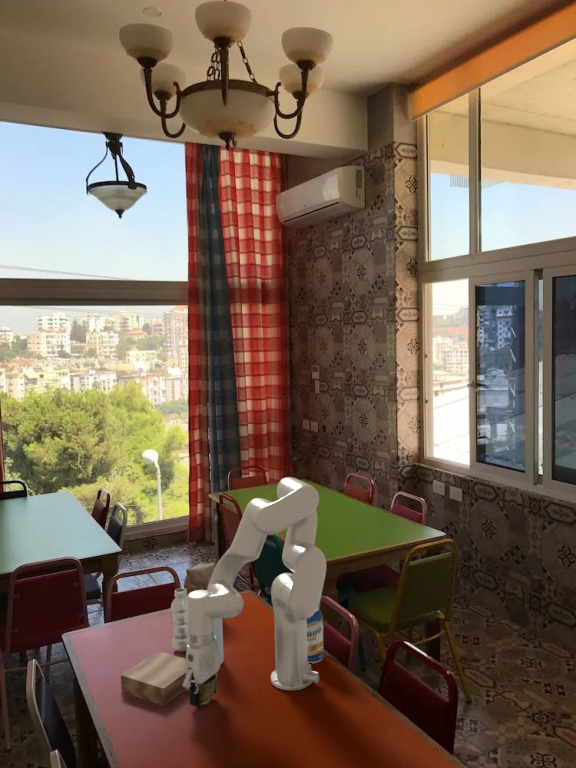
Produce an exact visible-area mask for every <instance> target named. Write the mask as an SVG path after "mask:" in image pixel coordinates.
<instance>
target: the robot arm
mask: <svg viewBox="0 0 576 768" xmlns="http://www.w3.org/2000/svg"><path fill="white" fill-rule="evenodd" d="M276 494H277V498H278V500H276V501H271V500H268V499H266V498H262V497H255V498H253V499H251V500H250V501H249V502H248V503H247V505H246V506H245V510H244V512H243V514H242V517H241V519H240V521H239V525H238V527H237V530H236V533H235V535H234V538H233V540H232V542H231V545H230V546H229V548H228V549H227V550H226V551H225V553H223V555H222V556H221V558H219V560H218V561H217V562H216V567H215V569H214V571H213V574H212V576H211V579H210V581H209V584H208V588H207V590H196V591H193V592H191V593H189V594H188V596H186V597H187V598H186V612H187V639H188V642H187V643H188V645H187V651H186V653H185V654H186V657H185V659H186V678H185V680H184V683H183V687H184V688H185V689H186V690H185V691H187V693H189V695H188V696H189V705H191V706H192V707H196V708H200V707H201V706H200V692H198V691H199V684H202V683H204V682H205V681H206V680H207V679H209V678H210V677H211V676H213V675H214V674H215V673H216V679H217V678H218V672H219V670H220V668H221V664H220V661H221V659H220V658H219V649H218V643H217V639H216V637H215V629H214V618H222V619H231V618H235V617H237V616H238V615H240V614H241V613H242V611H243V608H244V605H245V604H244V599H243V597H242V595H241V594H240V593H239V592H238V591H237V590H236V589H235V588H234V587H233V586H234V584H235V580H236V579H237V576H238V574H239V572H240V570H241V569H242V568H243V567H244V566H245V565H246V564H248V563H251V562H254V561H256V560H257V559H259V558H260V555H261V552H262V550H263V547H264V544H265V542H266V539H267V537H268V536H273V535H276V534H278V533H281V532H283V531H285V530H286V536H285V541H284V545H283V550H282V556H281V557H282V562H283V564H284V566H285V567H286V568H287V569H289V570H290V571H291V572H292V573H291V572H283V573H280V574H279V575H277V576H276V577H275V578H274V580H273V582H272V584H271V587H270V596H271V602H272V608H273V618H274V619H273V620H274V621H273V622H274V652H275V654H274V655H275V657H274V658H275V669H274V670H273V671H272V672H271V674H270V682H271V684H272V685H273V686H275V688H277V689H280V690H283V691H299V690H303V689H306V688H307V686H308V687H309V686H310V685H311V684H312V683H315V684H318V683H319V681H320V672H319V671H314V670H313V669H312V665H311V664H309V663H308V658H307V619H308V618H310V617H311V616H313V614H314V613H315V612H316V610H317V608H318V606H319V603H320V604H321V598H322V593H323V589H324V583H325V579H326V573H327V559H326V556H325V554H324V552H323V551H322V550H321V549H320V548H319V547H317V546H315V545H316V544H315V542H316V538H317V537H316V536H317V530H318V512H317V507H318V506H319V503H320V496H319V495H320V494H319V492H318V490H317V489H316V488H315V487H314V486H313V485H311V484H309V483H306V482H305V481H304V480H301V479H298V478H296V477H292V476H286V477H284V478H281V479H280V481H279V482H278V484H277V487H276ZM192 682H193V683H196V686H195V688H194V687H193V686H192ZM216 693H217V681H216V682H215V691H214V694H215V695H216ZM214 694H213V695H214Z"/></svg>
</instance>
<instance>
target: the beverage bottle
mask: <svg viewBox="0 0 576 768" xmlns="http://www.w3.org/2000/svg"><path fill="white" fill-rule="evenodd" d="M320 607H321V602H320V603H319V606H318V608H317V610H316V612H315V613H314V614H313V616H311V617H310V618H308V619H307V658H308V664H309V663H312V664H317V663H320V662H321V661H322V660H323V659H324V622H323V620H324V619H323V618H324V617H323V614H322V611H321V609H320Z"/></svg>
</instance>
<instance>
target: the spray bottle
mask: <svg viewBox="0 0 576 768" xmlns="http://www.w3.org/2000/svg"><path fill="white" fill-rule="evenodd" d="M214 629H215V637H216V639H217V643H218V649H219V658H220V659H221V661H220V665H222V664H223V663H224V637H223V635H224V633H223V630H224V627H223V618H214Z"/></svg>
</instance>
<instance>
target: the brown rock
mask: <svg viewBox="0 0 576 768" xmlns="http://www.w3.org/2000/svg"><path fill="white" fill-rule="evenodd" d="M216 565H217V562H216V561H213V562H200V563H197V564H196V565H193V566H192V567H188V568H186V570H185V573H186V576H185V579H184V580H183V581H184V582H183V583H184V584H183V588H185V589H186V593H187V596H188V594H189V593H191V592H193V591H196V590H207V588H208V584H209V581H210V579H211V576H212V574H213V571H214V569H215V567H216ZM187 596H186V597H187Z"/></svg>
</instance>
